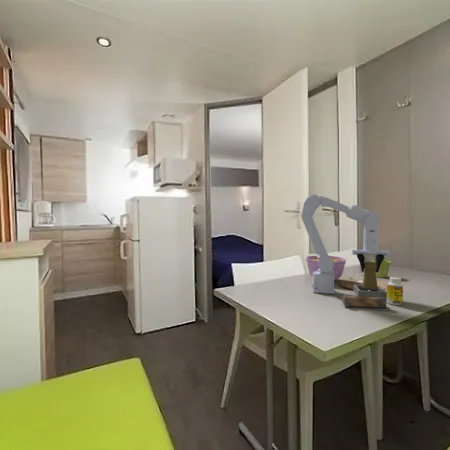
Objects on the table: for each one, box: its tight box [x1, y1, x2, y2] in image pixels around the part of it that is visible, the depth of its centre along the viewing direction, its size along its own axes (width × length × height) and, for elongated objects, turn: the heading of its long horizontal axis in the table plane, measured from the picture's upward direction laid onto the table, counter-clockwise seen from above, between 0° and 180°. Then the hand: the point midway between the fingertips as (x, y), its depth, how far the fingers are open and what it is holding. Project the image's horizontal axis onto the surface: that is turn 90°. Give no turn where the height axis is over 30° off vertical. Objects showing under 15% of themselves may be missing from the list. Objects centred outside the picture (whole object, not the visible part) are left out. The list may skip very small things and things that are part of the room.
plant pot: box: [371, 259, 392, 279], centre depth 171 cm, size 9×9×9 cm
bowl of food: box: [305, 255, 347, 281], centre depth 161 cm, size 20×20×12 cm
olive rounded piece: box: [362, 261, 379, 289], centre depth 134 cm, size 6×6×11 cm
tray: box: [352, 284, 387, 299], centre depth 135 cm, size 11×11×3 cm
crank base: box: [371, 306, 391, 312], centre depth 117 cm, size 6×6×1 cm
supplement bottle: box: [386, 276, 404, 306], centre depth 123 cm, size 6×6×10 cm
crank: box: [342, 294, 388, 309], centre depth 118 cm, size 15×5×3 cm, turn 78°
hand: (369, 271), depth 135 cm, fingers closed on olive rounded piece, 5 cm apart
